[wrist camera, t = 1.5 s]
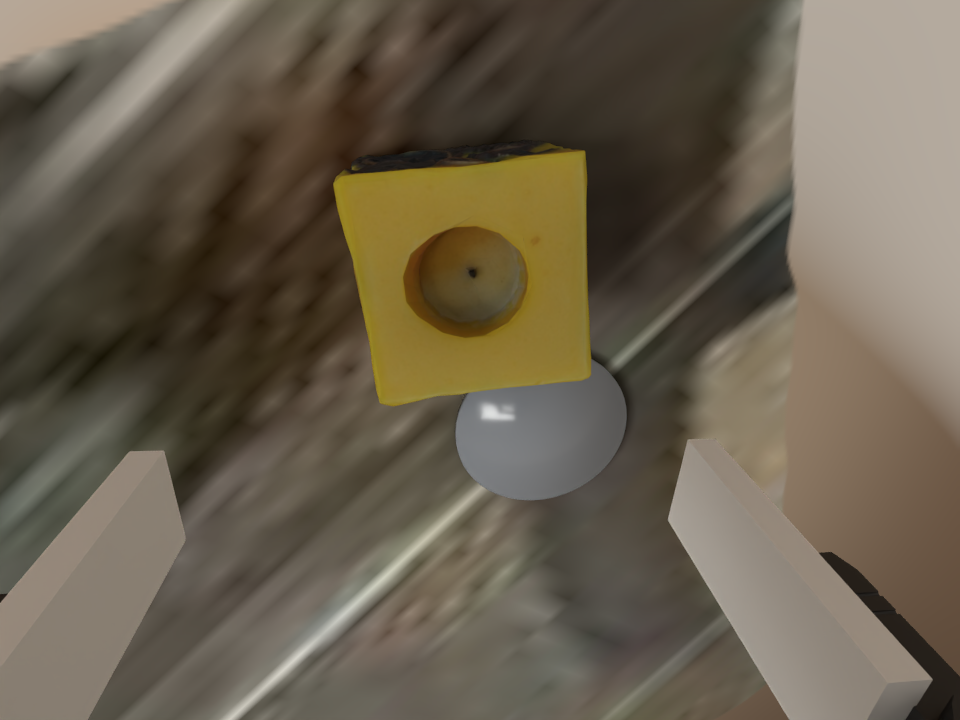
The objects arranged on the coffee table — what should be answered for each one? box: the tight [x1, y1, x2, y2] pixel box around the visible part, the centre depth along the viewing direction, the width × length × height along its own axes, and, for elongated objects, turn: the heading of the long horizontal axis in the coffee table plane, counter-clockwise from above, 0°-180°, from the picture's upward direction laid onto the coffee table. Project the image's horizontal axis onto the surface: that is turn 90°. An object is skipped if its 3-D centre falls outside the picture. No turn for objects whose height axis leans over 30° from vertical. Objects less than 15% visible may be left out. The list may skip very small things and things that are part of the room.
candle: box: [333, 140, 591, 406], centre depth 26 cm, size 10×10×10 cm
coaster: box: [455, 358, 627, 500], centre depth 37 cm, size 12×12×1 cm
